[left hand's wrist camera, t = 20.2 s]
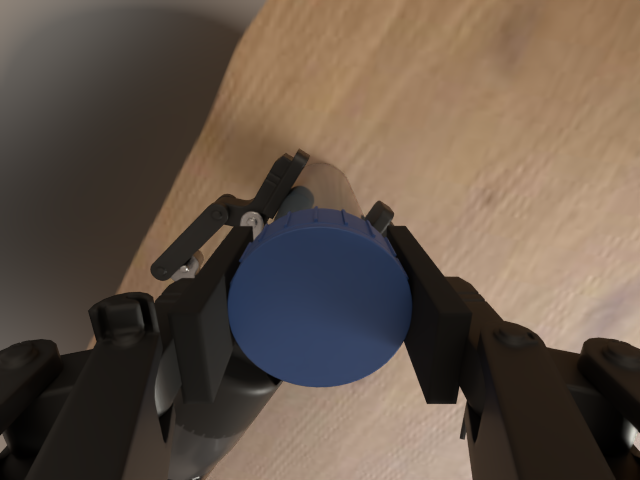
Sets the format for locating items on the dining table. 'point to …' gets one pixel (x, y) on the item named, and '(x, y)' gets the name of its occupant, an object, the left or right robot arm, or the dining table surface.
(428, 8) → the dining table surface
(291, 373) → the lid
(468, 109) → the dining table surface
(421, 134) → the dining table surface
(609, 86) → the dining table surface
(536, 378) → the left robot arm
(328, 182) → the jar
